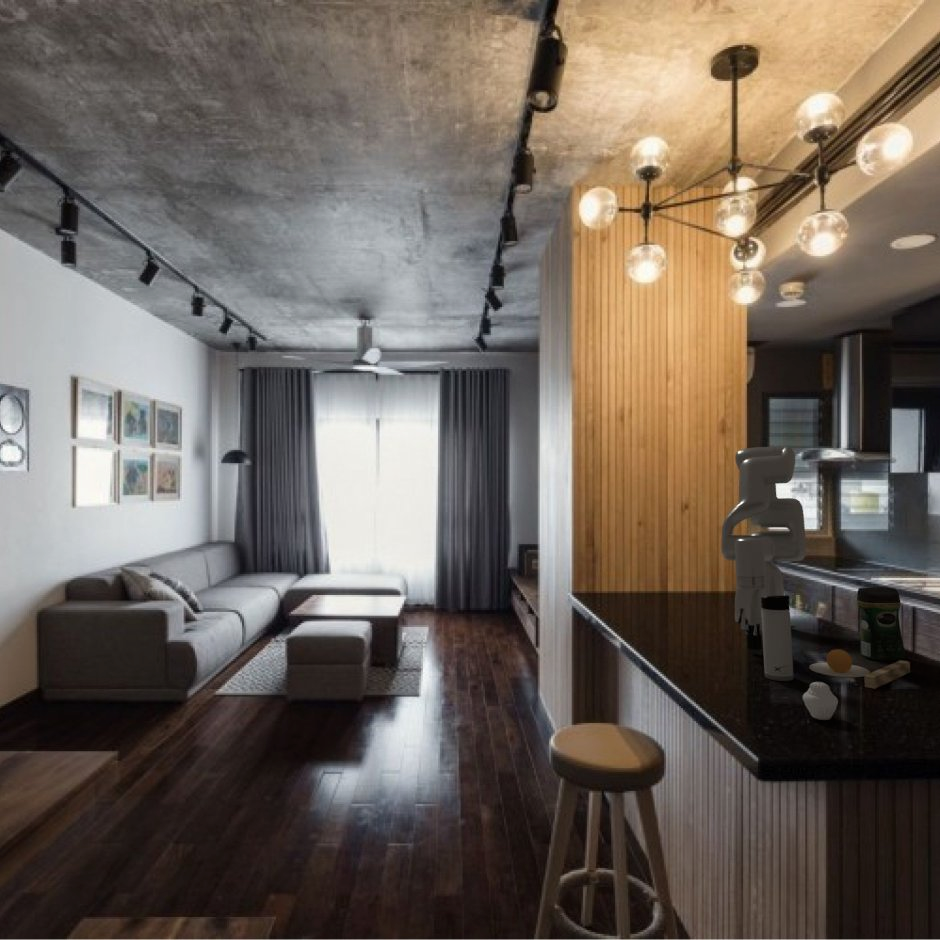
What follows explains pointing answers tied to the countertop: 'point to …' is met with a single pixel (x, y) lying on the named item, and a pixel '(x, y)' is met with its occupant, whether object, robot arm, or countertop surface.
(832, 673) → the disc
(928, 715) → the countertop surface
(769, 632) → the travel mug
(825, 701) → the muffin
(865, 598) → the coffee jar
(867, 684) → the stopper strip
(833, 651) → the ball
